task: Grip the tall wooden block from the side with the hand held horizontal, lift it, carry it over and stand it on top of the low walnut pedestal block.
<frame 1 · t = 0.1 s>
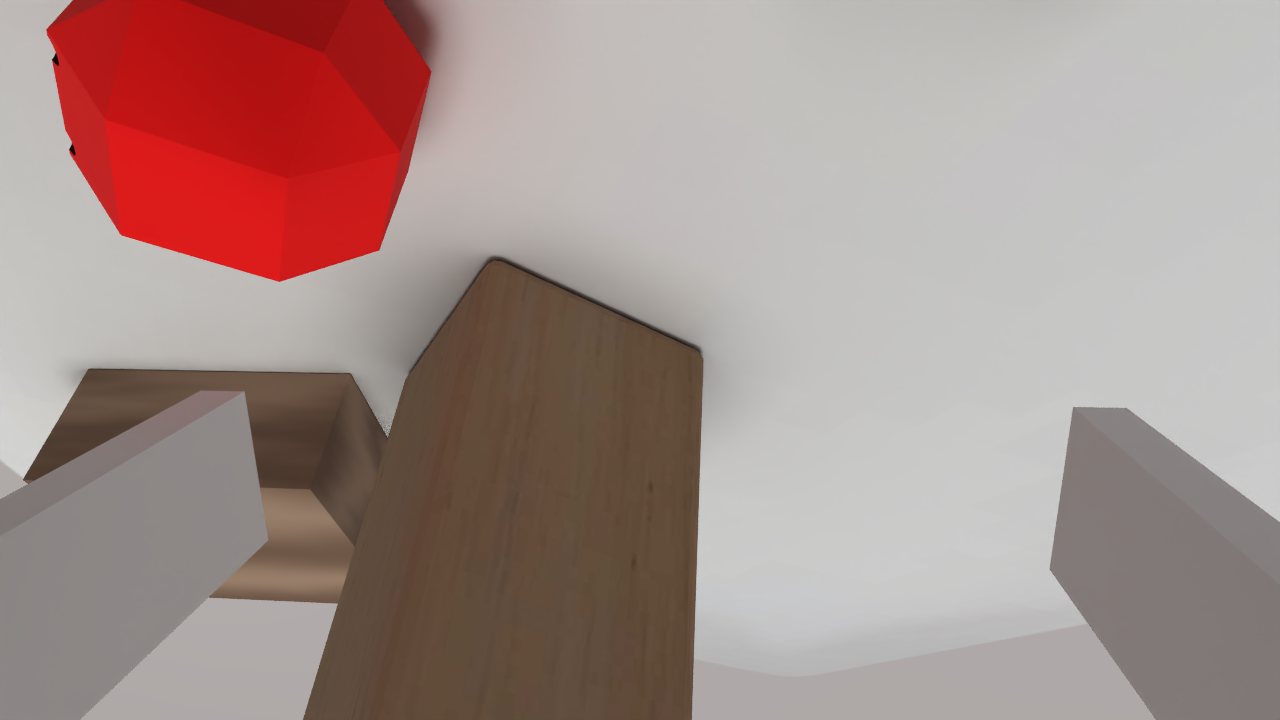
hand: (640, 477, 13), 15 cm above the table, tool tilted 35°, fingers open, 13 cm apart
ball: (303, 28, 25), on the table
wooden block: (550, 360, 37), on the table
walnut pedestal block: (274, 445, 44), on the table
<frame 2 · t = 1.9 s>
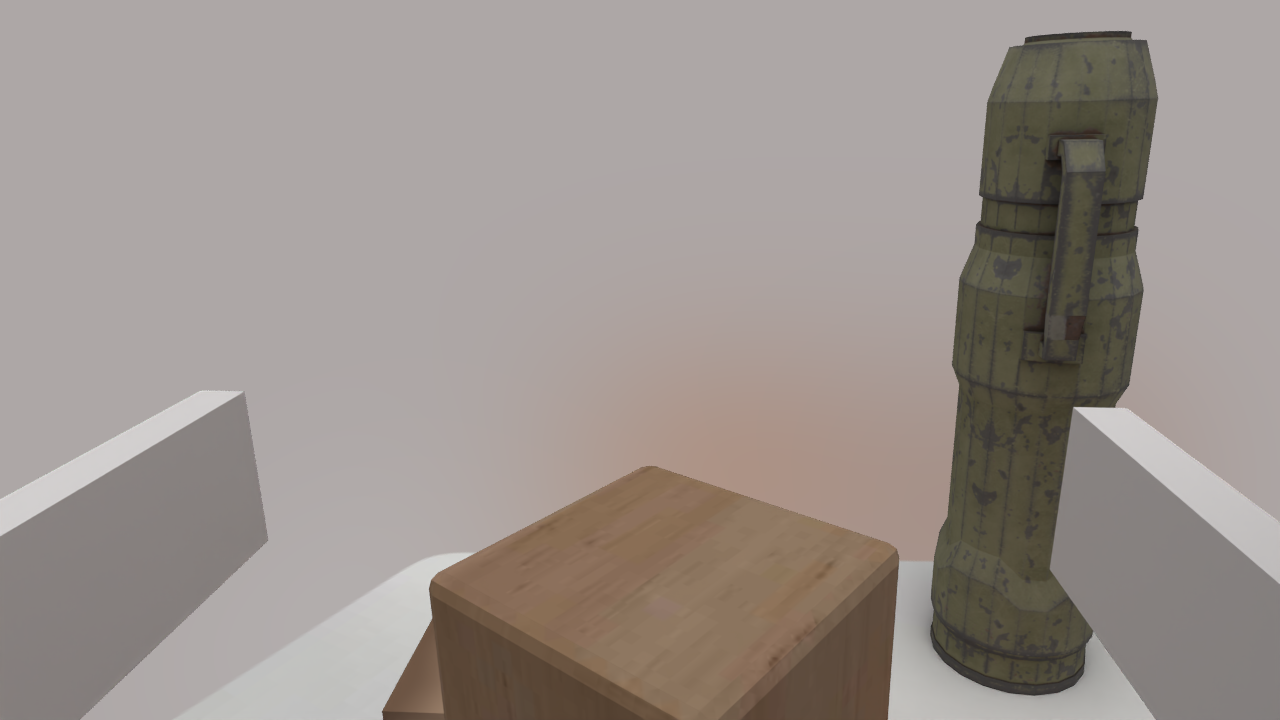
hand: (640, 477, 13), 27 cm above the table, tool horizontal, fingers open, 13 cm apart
thermos: (1004, 648, 51), on the table
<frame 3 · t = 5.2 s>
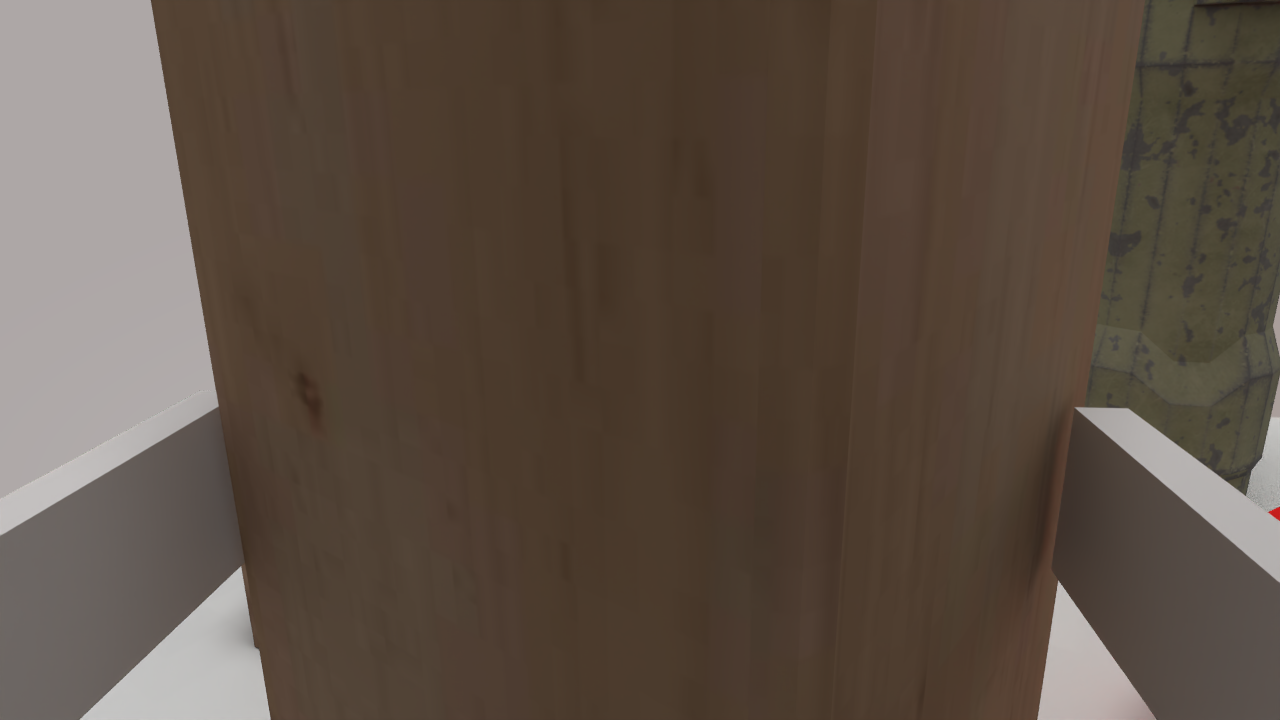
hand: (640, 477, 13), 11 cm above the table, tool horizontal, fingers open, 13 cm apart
walnut pedestal block: (503, 553, 32), on the table
thermos: (1125, 491, 38), on the table
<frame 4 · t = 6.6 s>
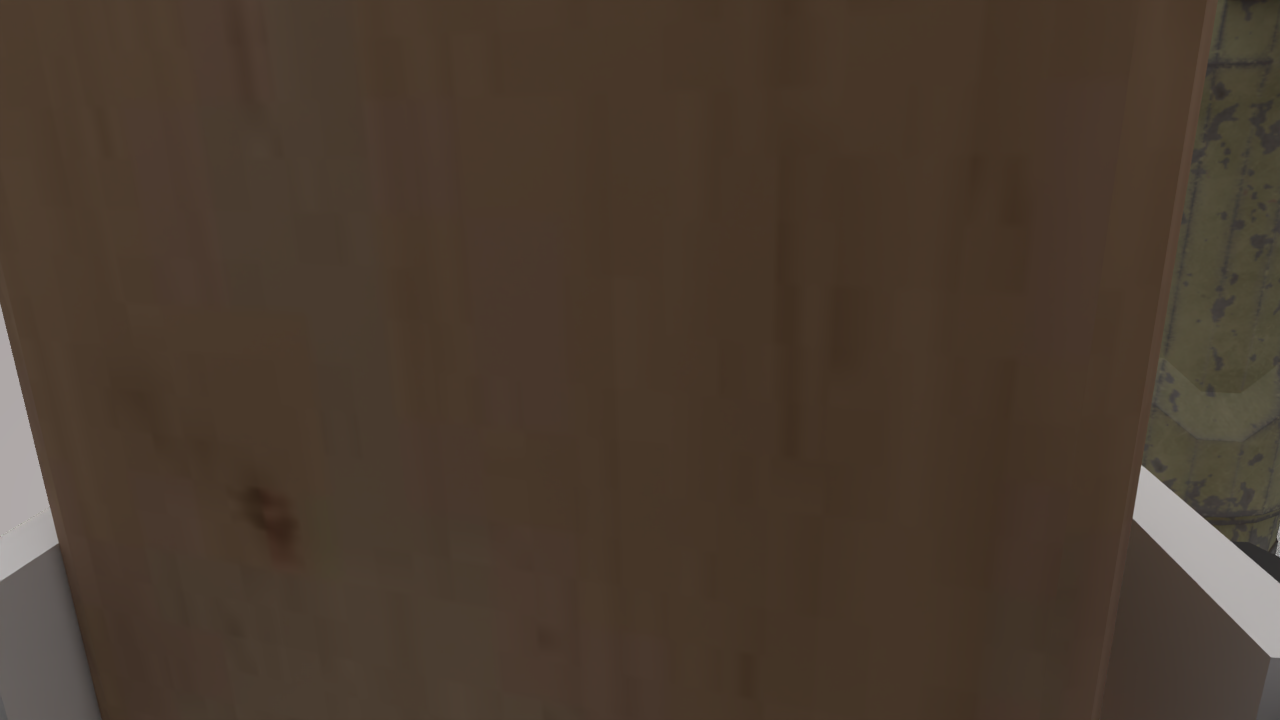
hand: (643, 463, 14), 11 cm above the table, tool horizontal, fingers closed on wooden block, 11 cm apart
thermos: (1143, 527, 35), on the table
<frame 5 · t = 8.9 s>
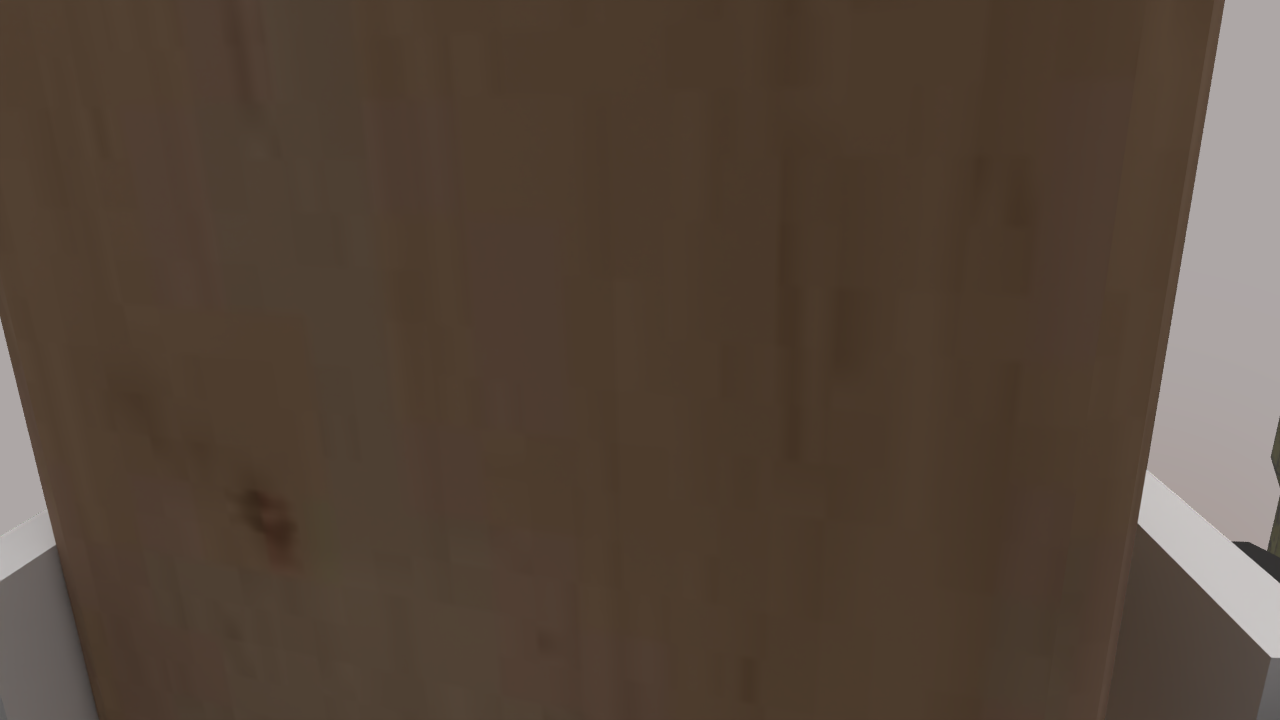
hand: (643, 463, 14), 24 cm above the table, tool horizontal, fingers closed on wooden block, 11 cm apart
when the fingers open (18 cm above the table, at t = 11.4 s): wooden block drops 1 cm, resting on walnut pedestal block.
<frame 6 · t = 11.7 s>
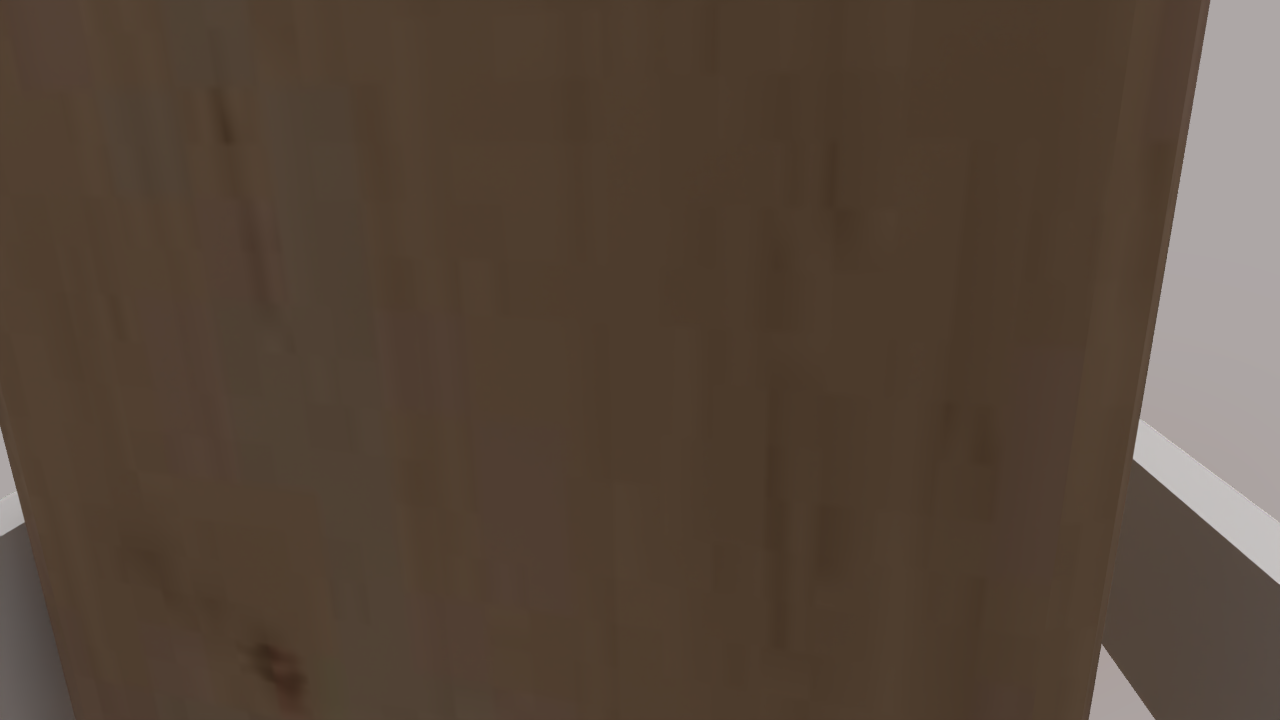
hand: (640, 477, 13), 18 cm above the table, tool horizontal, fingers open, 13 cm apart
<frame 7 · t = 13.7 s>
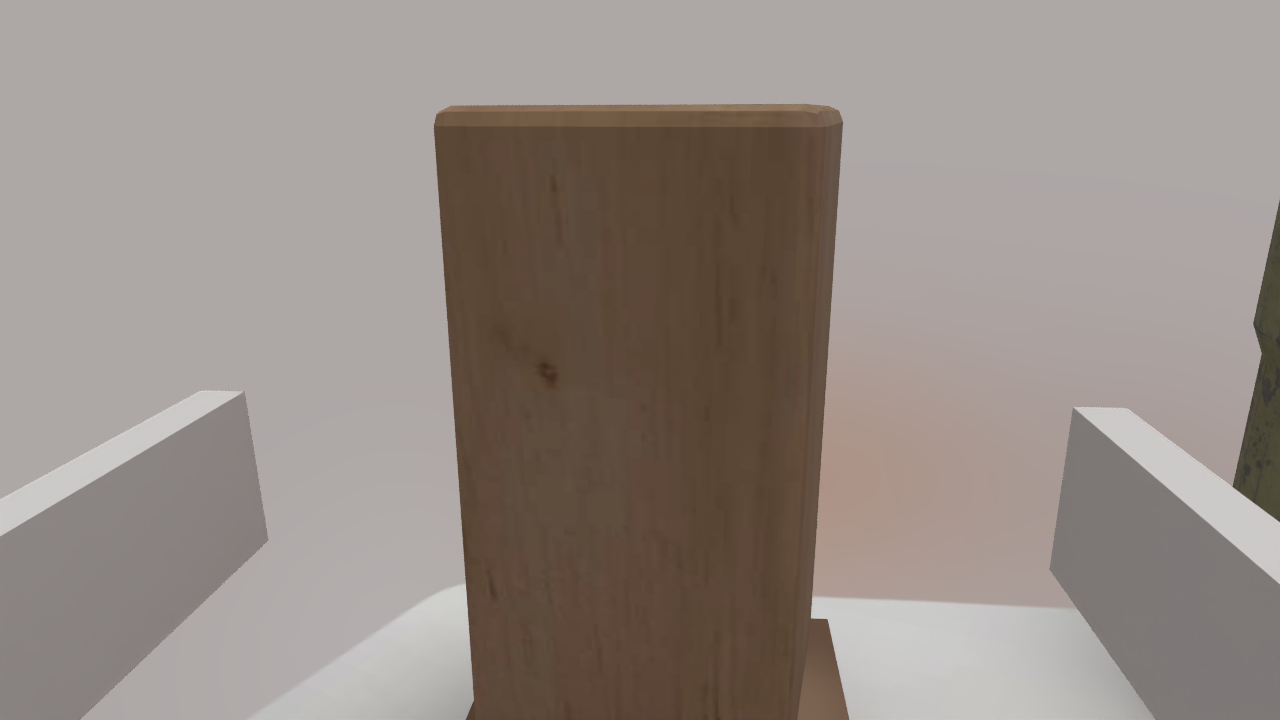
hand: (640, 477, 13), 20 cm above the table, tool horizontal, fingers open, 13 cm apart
wooden block: (659, 687, 30), point 6 cm above the table, touching walnut pedestal block
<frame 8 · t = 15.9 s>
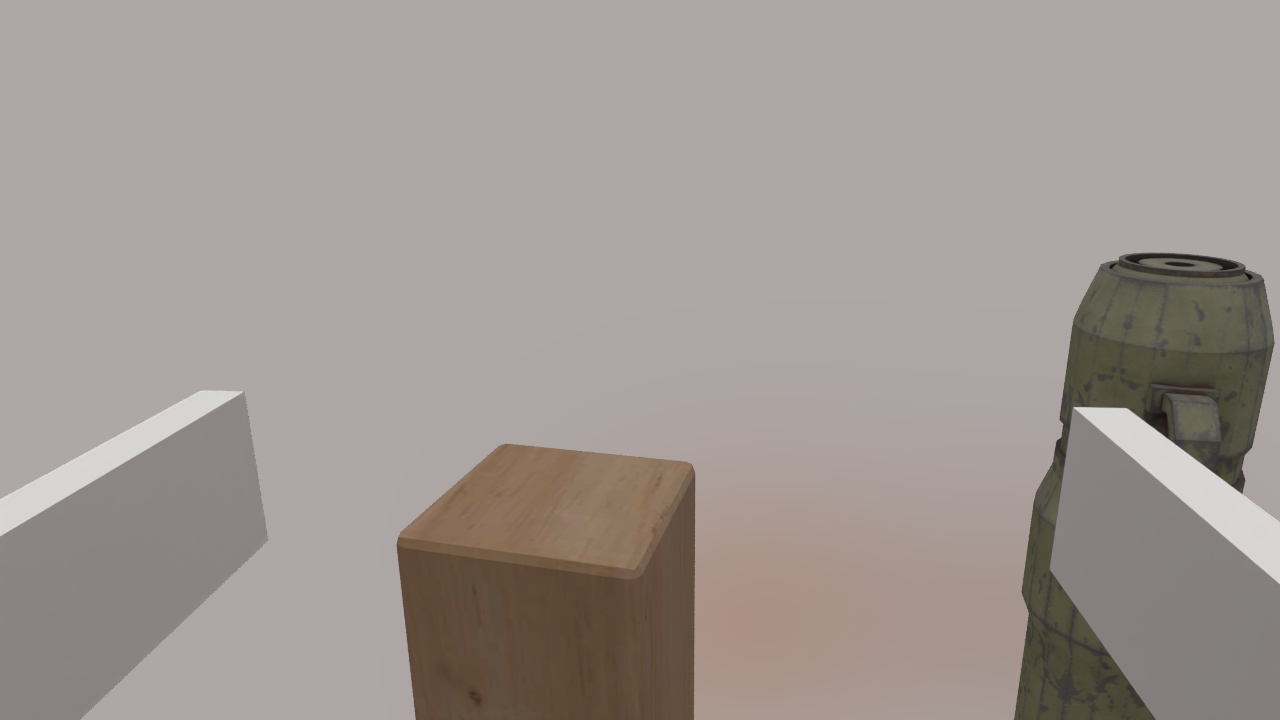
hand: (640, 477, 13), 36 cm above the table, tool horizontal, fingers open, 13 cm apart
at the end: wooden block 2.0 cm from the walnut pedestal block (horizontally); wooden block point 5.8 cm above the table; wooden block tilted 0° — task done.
